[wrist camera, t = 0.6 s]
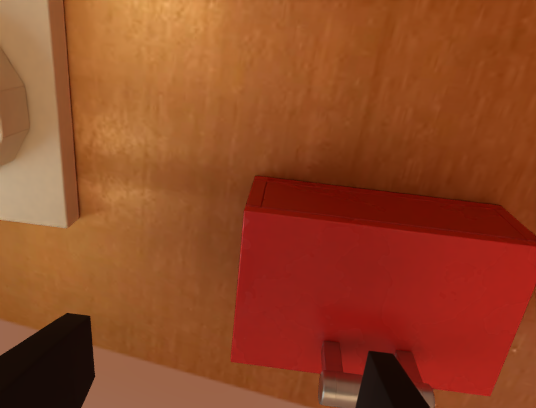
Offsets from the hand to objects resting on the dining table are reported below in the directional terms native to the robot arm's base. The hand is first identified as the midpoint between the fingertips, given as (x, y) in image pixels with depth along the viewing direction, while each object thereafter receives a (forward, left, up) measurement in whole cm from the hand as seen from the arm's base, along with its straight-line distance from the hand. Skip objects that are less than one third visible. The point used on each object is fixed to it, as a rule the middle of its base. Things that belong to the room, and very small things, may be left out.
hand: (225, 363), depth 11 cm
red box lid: (-2, -5, -6) cm, 8 cm away
